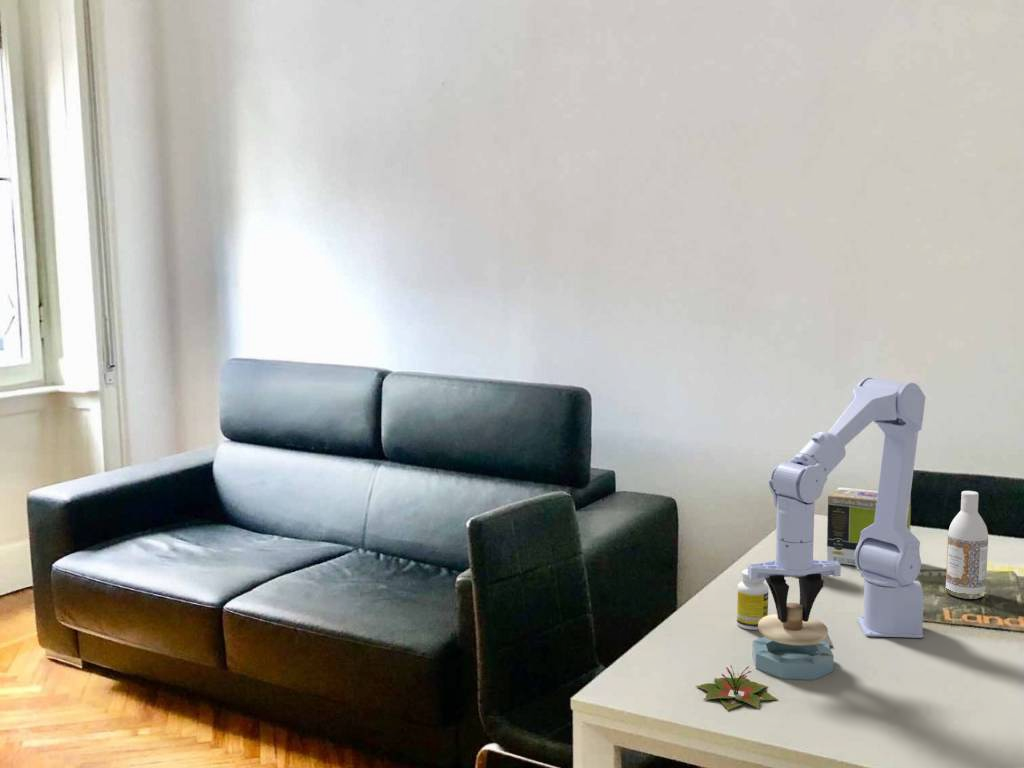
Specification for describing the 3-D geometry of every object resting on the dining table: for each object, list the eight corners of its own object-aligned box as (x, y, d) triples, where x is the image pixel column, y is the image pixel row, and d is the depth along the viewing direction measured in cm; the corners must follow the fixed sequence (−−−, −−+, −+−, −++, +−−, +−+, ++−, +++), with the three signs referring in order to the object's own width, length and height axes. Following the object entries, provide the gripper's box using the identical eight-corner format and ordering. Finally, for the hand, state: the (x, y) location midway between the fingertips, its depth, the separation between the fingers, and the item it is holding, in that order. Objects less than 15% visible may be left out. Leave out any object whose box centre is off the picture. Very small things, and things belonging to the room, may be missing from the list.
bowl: (823, 649, 168) (824, 635, 168) (837, 680, 156) (837, 665, 156) (750, 647, 170) (750, 632, 169) (758, 677, 158) (758, 662, 158)
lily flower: (680, 687, 156) (681, 659, 156) (746, 674, 160) (746, 646, 160) (724, 721, 145) (724, 691, 144) (793, 706, 149) (794, 676, 149)
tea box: (910, 560, 213) (912, 492, 211) (899, 574, 205) (902, 503, 203) (837, 549, 221) (839, 484, 219) (825, 562, 213) (826, 494, 211)
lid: (840, 641, 158) (841, 616, 157) (775, 648, 156) (776, 623, 155) (807, 614, 169) (808, 590, 168) (747, 620, 167) (747, 596, 166)
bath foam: (937, 591, 194) (941, 490, 192) (964, 586, 197) (969, 486, 194) (966, 603, 188) (971, 498, 185) (993, 597, 191) (998, 494, 188)
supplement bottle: (768, 631, 176) (769, 577, 175) (736, 630, 177) (737, 576, 176) (767, 620, 182) (768, 567, 180) (736, 618, 183) (737, 566, 181)
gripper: (829, 529, 165) (827, 608, 167) (742, 532, 164) (741, 612, 165) (847, 541, 158) (844, 624, 160) (756, 545, 157) (754, 628, 159)
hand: (792, 619), depth 162 cm, fingers closed on lid, 3 cm apart
